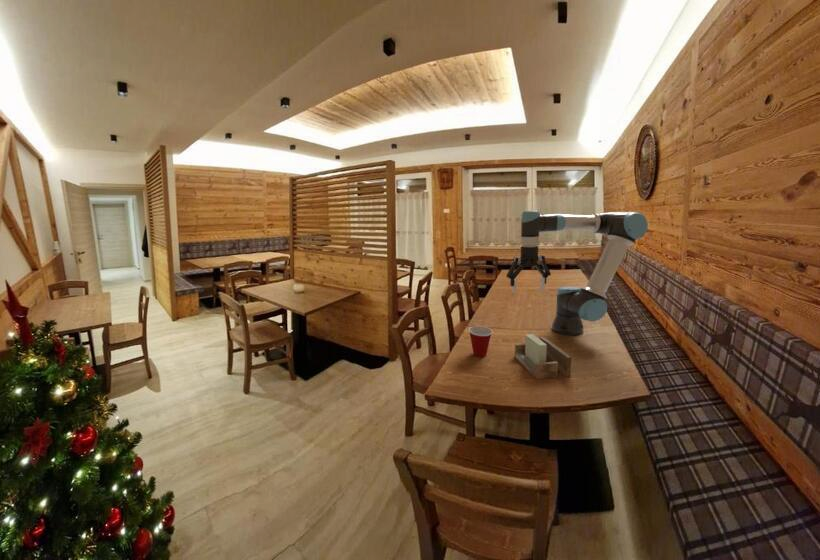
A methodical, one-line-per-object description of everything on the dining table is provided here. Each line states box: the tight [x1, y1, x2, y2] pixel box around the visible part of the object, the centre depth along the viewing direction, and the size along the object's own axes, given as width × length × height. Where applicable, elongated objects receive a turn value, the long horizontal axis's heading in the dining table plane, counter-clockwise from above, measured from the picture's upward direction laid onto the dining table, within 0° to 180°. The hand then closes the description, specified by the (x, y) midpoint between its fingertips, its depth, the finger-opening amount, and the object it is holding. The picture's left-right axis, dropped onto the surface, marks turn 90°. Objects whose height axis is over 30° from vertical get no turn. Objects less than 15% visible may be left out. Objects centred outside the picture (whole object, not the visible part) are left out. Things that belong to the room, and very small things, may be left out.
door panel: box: [524, 333, 547, 366], centre depth 143 cm, size 3×12×12 cm, turn 7°
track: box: [514, 336, 572, 380], centre depth 144 cm, size 13×22×8 cm, turn 7°
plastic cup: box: [468, 325, 494, 358], centre depth 157 cm, size 11×11×12 cm
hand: (528, 291), depth 159 cm, fingers open, 13 cm apart
